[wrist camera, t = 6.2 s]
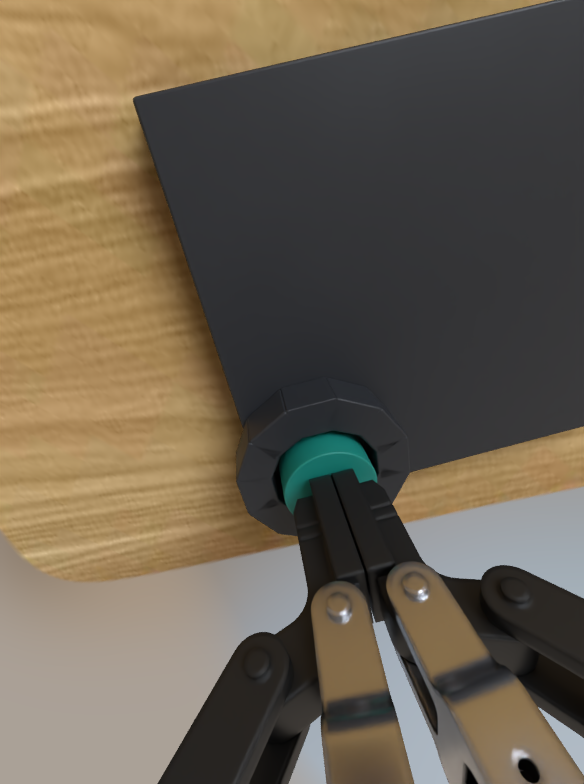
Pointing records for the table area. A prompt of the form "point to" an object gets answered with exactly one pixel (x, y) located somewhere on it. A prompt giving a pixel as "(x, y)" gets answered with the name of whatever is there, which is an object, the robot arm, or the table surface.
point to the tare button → (321, 463)
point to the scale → (389, 241)
